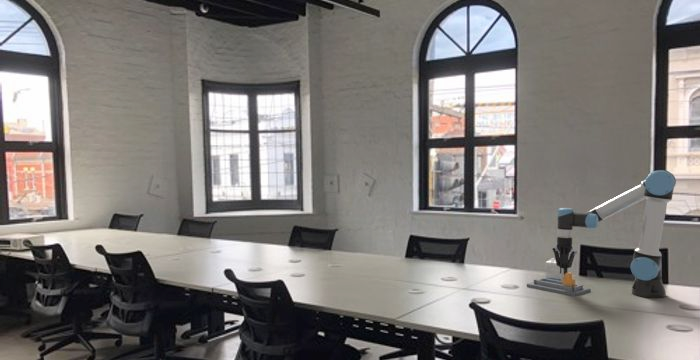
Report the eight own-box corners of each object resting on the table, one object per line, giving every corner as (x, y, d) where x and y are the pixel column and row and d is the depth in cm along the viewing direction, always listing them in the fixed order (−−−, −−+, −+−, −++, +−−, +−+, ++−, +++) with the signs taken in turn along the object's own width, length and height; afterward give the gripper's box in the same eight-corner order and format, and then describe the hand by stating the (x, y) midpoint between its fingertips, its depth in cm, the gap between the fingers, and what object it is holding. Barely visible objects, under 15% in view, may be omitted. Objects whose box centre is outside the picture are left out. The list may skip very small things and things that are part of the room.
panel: (590, 291, 264) (590, 284, 264) (574, 296, 254) (574, 289, 254) (543, 282, 286) (543, 276, 286) (526, 286, 277) (526, 280, 277)
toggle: (575, 288, 264) (575, 273, 264) (571, 289, 262) (571, 274, 262) (566, 286, 268) (566, 271, 268) (562, 287, 266) (562, 272, 266)
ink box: (560, 283, 282) (560, 260, 282) (545, 282, 287) (544, 259, 287) (564, 281, 289) (564, 258, 289) (549, 279, 294) (549, 256, 294)
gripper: (579, 237, 264) (578, 281, 265) (557, 234, 274) (556, 276, 275) (572, 239, 259) (570, 283, 260) (550, 235, 269) (548, 278, 271)
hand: (563, 279), depth 268 cm, fingers closed
